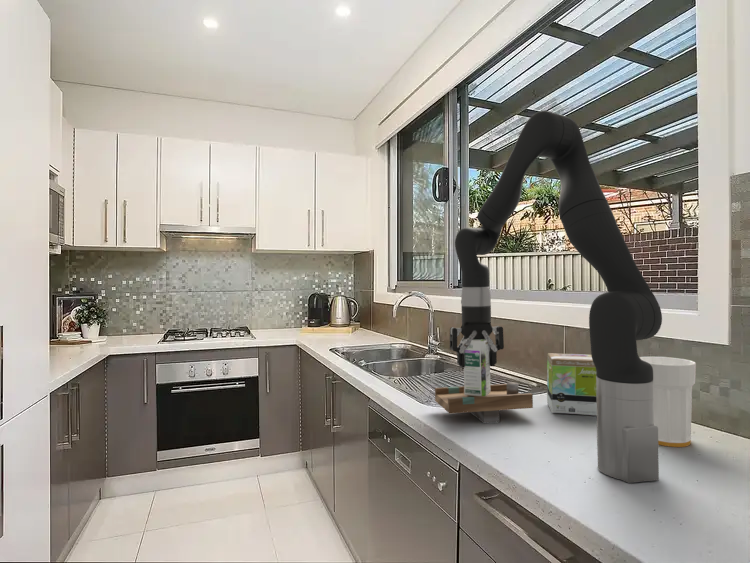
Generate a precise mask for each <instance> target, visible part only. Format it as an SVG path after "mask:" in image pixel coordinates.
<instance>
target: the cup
mask: <svg viewBox="0 0 750 563" xmlns="http://www.w3.org/2000/svg"><path fill="white" fill-rule="evenodd" d="M639 358H640V359H641V360H643V361H645V362H648V363H649V364H650V365H651V366H652V368H653V405H654V425H656V426H657V427H658V446H664V447H669V448H685V447H688V446H690V445H691V442H692V409H693V408H692V404H693V386H694V385H695V384H696V376H697V375H696V373H697V371H696V370H697V369H696V368H697V362H695V361H694V360H690V359H685V358H678V357H670V356H669V357H668V356H656V355H655V356H652V355H651V356H639Z"/></svg>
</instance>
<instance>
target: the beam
mask: <svg viewBox="0 0 750 563" xmlns="http://www.w3.org/2000/svg"><path fill="white" fill-rule="evenodd" d="M490 387H491V392H490V393H489V394H488V395H487V396H470V395H464V385H463V386H461V385H460V386H447V387H445V386H444V387H434V400H435V402H436V403H437V404H438V405H439V406H440V407H441V408H442V409H444V410H445V411H446V412H447V413H448V414H461V413H471V415H474V416H475V417H476V418H477V419H478V420H480V422H482V423H484V424H493V423H494V424H495V423H500V411H505V410H506V411H507V410H521V409H525V410H526V409H533V408H534V406H533V405H534V402H533V401H534V400H533V398H534V397H533V395H534V394H533V393H530V392H529V393H520V392H519V383H518V382H515V381H513V382H512V381H511V382H510V381H509V382H508V381H507V382H506V383H498V384H497V383H496V384H490Z"/></svg>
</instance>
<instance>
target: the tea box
mask: <svg viewBox="0 0 750 563" xmlns="http://www.w3.org/2000/svg"><path fill="white" fill-rule="evenodd" d="M546 359H547V360H546V362H547V363H546V364H547V365H546V370H547V373H546V379H547V380H546V383H547V384H546V390H547V391H546V394H547V395H546V404H547V406H548V407H549V409H550V411H551V413H552V414H571V415H581V416H584V415H585V416H596V417H597V396H596V392H597V390H596V367H595V365H594V363H593V360H592V356H591V354H584V353H583V354H580V353H555V352H554V353H551V352H548V353H547V357H546Z"/></svg>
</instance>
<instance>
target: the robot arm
mask: <svg viewBox="0 0 750 563" xmlns="http://www.w3.org/2000/svg"><path fill="white" fill-rule="evenodd" d="M538 157H541V158H546V159H549V160H550V161H551V163H552V164H553V167H554V168H555V172H556V173H557V175H558V178H559V180H560V193H559V197H558V206H557V208H558V215H559V219H560V221H561V224H562V227H563V229H564V231H565V234H566V237H567V239H568V241H569V242H570V244H571V245H572V246H573V248H575V250H576V252H578V253H579V254H580V255H581V256H582V258H584V259H585V261H587V262H588V263H589V265H591V266H592V267H593V269H594V270H595V271H596V272H597V274H598V275H599V276H600V277H601V279H602V281H603V283H604V284H605V287H606V289H607V291H606V292H603V293H601V294H600V293H599V295H597V296H596V297H595V298H594V299H593V302H592V303H591V306H590V308H589V314H588V326H589V329H588V330H589V341H590V342H589V343H590V355H591V356H592V360H593V363H594V365H595V367H596V390H597V392H596V396H597V416H596V447H597V448H596V449H597V450H596V451H597V452H596V453H597V469H598V470H599V471H600V472H601V473H602V474H604V475H606V476H608V477H612V478H614V479H617V480H621V481H624V482H625V483H627V484H628V483H629V484H632V483H641V482H651V481H659V480H660V473H659V472H660V471H659V469H660V468H659V467H660V466H659V464H660V463H659V462H660V461H659V460H660V459H659V456H660V455H659V445H658V427H657V426H656V425H654V405H653V368H652V366H651V365H650V364H649V363H648V362H645V361H643V360H641V359H640V358H639V357H640V356H639V354H638V345H637V341H642V340H647V339H651V338H653V337H655V336H656V335H657V334H658V333H659V331H660V329H661V327H662V324H663V315H662V314H663V313H662V310H661V306H660V304H659V302H658V299H657V298H656V296H655V294H654V292H653V291H652V289H651V288H650V286H649V284H648V282H647V281H646V279H645V277H644V276H643V274H642V272H641V271H640V269H639V268H638V266H637V264H636V262H635V260H634V258H633V256H632V254H631V251H630V249H629V247H628V245H627V243H626V241H625V238H624V236H623V234H622V232H621V230H620V228H619V225H618V223H617V220H616V218H615V215H614V213H613V211H612V209H611V206H610V204H609V202H608V199H607V198H606V195H605V194H604V192H603V190H602V188H601V184H600V182H599V180H598V178H597V176H596V173H595V171H594V169H593V167H592V165H591V162H590V158H589V156H588V153H587V148H586V144H585V143H584V139H583V136H582V132H581V130H580V127H579V125H578V124H577V123H576V121H575V120H573V119H572V118H570V117H568V116H565V115H562V114H559V113H556V112H552V111H548V110H540V111H537V112H535V113H533V114H532V115H531V116H530V117H529V118H528V120H527V121H526V122H525V124H524V126H523V128H522V129H521V131H520V133H519V135H518V137H517V140H516V142H515V144H514V146H513V149H512V151H511V153H510V155H509V157H508V159H507V161H506V164H505V165H504V169H503V170H502V172H501V175H500V177H499V179H498V181H497V183H496V184H495V186H494V188H493V190H492V191H491V193H490V194H489V196H488V197H487V199H486V200H485V202H484V203H483V205H482V206H481V207H480V209H479V211H478V213H477V221H478V222H479V224H481V226H480V228H478V227H463V228H461V229H460V230H459V231H458V232H457V234H456V236H455V240H454V246H455V252H456V256H457V259H458V262H459V266H460V270H461V296H460V297H461V299H460V304H461V327H453V326H452V327H450V328H449V349H450V350H451V351H453V352H456V363H457V365H458V366H459V368H462V369H464V367H465V358H464V353H463V352H464V351H465V349H466V348H467V347H468V346H469V344H470V343H471V341H472V340H474V339H487V343H488V345H489V346H490V367H495V366H496V364H497V361H498V360H497V359H498V358H497V356H498V355H497V352H498V351H500V350H504V348H505V344H504V328H503V326H501V325H495V326H492V296H491V290H490V269H489V267H488V265H486V264H483V263H481V262H480V260H479V258H478V256H485V255H488V254H489V253H490V252H492V251H493V250H494V249H495V247H496V246H497V243H498V241H499V238H500V235H501V233H502V230H503V227H504V225H505V224H506V222H508V220H509V219H510V217H511V216H512V214H513V213H514V212H515V210H516V209H517V207H518V205H519V203H520V200H521V196H522V191H523V190H522V189H523V183H524V179H525V177H526V174H527V173H528V170H529V168H530V166H531V165H532V164H533V163H534V162H535V161H536V160H537V158H538ZM460 333H461V334H462V336H463V337H462V338H461V340H460V341H459V342H460V343H459V344H458V336H460ZM492 333H493V334H494V337H495V340H492V338H491V337H490V336H491V334H492ZM464 339H466V341H464V342H463V340H464ZM494 341H495V344H494Z"/></svg>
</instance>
